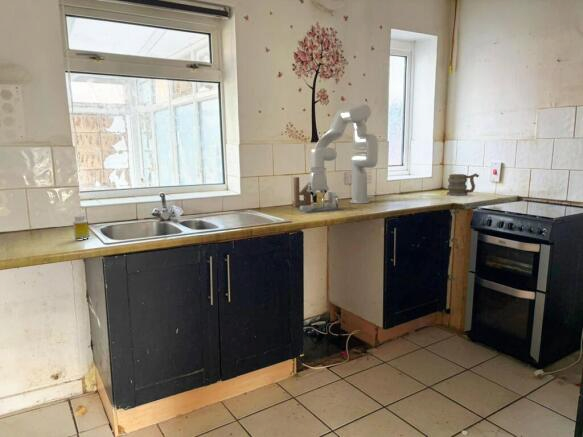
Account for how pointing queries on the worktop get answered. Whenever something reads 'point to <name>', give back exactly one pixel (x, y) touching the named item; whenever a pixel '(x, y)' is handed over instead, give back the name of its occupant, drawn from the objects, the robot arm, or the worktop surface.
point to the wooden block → (306, 195)
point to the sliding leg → (319, 200)
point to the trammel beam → (331, 201)
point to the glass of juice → (80, 227)
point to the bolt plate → (319, 209)
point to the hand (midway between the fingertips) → (318, 202)
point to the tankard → (460, 184)
